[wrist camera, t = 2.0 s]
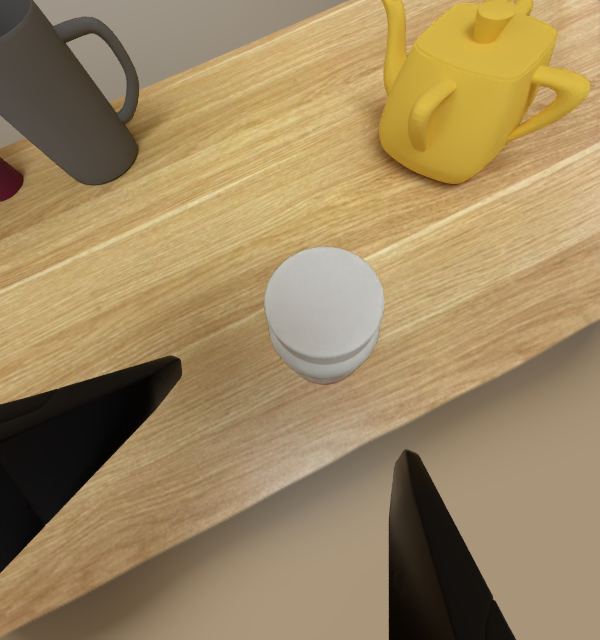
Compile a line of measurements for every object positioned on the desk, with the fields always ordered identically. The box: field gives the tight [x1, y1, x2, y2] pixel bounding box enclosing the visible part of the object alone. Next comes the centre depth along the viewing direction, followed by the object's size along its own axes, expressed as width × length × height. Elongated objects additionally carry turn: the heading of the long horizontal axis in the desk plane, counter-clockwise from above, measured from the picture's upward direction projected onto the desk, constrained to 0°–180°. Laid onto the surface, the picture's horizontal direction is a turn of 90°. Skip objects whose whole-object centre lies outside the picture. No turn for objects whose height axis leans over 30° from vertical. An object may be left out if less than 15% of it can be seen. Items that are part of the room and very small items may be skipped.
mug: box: [0, 0, 139, 185], centre depth 26 cm, size 14×9×12 cm
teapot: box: [379, 0, 591, 184], centre depth 22 cm, size 14×13×10 cm
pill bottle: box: [264, 247, 385, 385], centre depth 16 cm, size 6×6×11 cm
